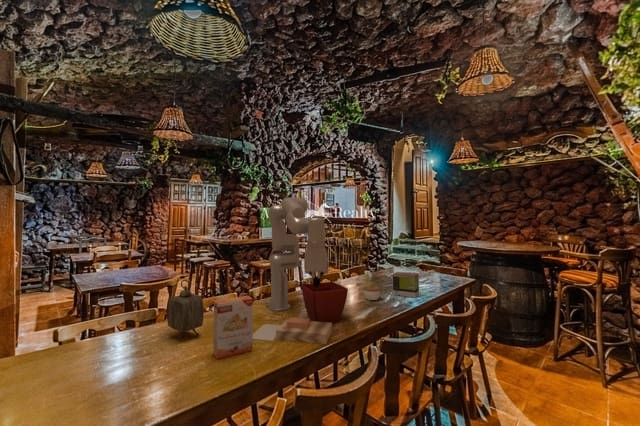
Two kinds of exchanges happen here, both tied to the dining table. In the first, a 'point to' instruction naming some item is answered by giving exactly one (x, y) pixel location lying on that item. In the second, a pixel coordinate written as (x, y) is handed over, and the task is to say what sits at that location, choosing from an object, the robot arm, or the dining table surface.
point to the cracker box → (233, 326)
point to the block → (298, 323)
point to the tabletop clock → (185, 311)
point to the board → (306, 333)
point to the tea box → (406, 284)
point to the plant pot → (324, 301)
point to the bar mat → (266, 332)
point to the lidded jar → (372, 292)
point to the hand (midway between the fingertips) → (316, 286)
